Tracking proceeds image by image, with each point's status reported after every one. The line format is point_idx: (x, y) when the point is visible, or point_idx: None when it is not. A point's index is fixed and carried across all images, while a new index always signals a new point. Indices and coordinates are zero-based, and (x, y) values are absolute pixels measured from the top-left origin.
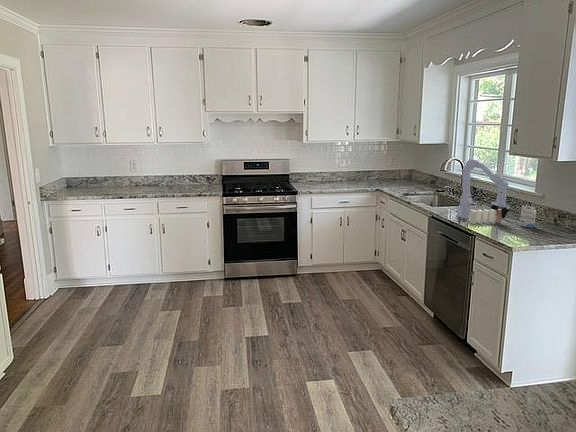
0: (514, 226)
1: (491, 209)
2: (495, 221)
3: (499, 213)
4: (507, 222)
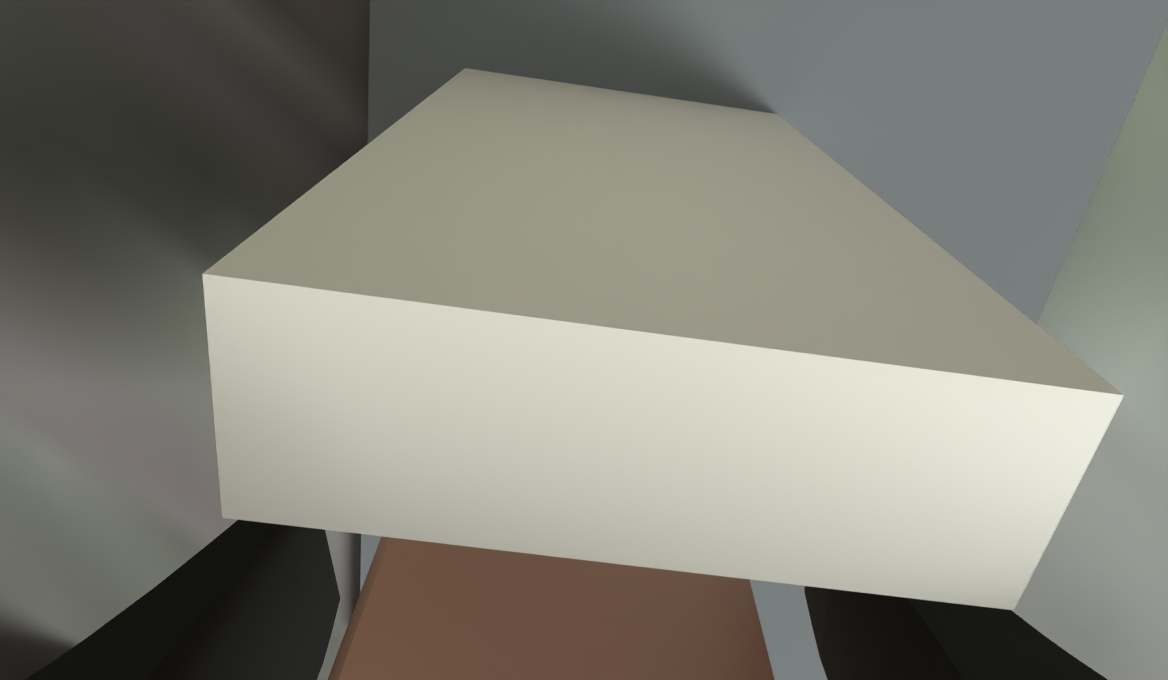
0: (50, 518)
1: (986, 480)
2: None
3: (373, 603)
4: None
